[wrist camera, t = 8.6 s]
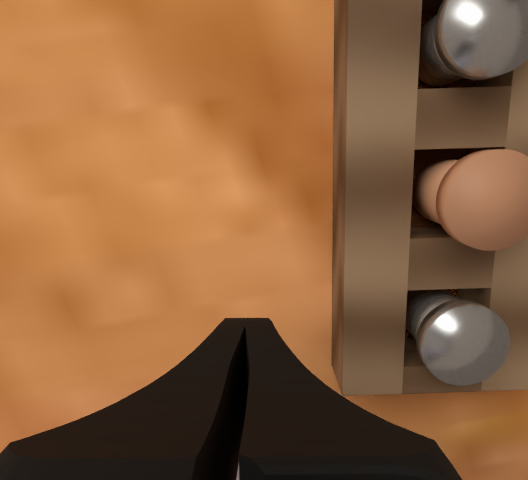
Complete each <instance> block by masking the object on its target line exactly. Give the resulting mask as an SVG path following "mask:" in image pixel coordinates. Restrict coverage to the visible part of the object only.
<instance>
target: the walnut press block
mask: <svg viewBox="0 0 528 480" xmlns="http://www.w3.org/2000/svg"><path fill="white" fill-rule="evenodd" d="M442 1H443V0H334V127H333V260H332V367H333V370H334V373H335V375H336V378H337V381H338V384H339V387H340V390H341V393H342V396H356V395H386V394H416V393H446V392H476V391H506V390H528V236H527V237H525V238H524V239H523V240H521V241H520V242H518V243H517V244H515V245H513V246H511V247H508V248H505V249H501V250H494V251H484V250H479V249H475V248H472V247H470V246H468V245H465V244H463V243H461V242H459V241H456V240H455V239H453V238H452V237H451V236H450V235H448V234H447V232H446V231H445V230H444V229H443V227H442V226H411V209H412V189H413V170H414V150H428V149H460V148H469V154H471V153H474V152H477V151H481V150H494V149H507V150H513V151H517V152H520V153H522V154H524V155H526V156H528V59H527V60H526V61H525V62H524V63H523V64H522V65H520V66H519V67H517V68H516V69H514V70H512V71H510V72H507V73H505V74H502V75H499V76H496V77H493V78H490V79H486V80H475V83H474V87H468V88H436V89H418V72H419V53H420V33H421V14H422V10H439V7H440V5H441V3H442ZM437 289H458V294H457V298H459V299H467V300H473V301H476V302H478V303H481V304H482V305H484V306H485V307H487V308H488V309H490V310H492V311H493V312H495V313H496V314H497V315H498V316H500V317H501V319H502V320H503V321H504V322H505V324H506V326H507V328H508V331H509V335H510V347H509V352H508V355H507V357H506V359H505V361H504V363H503V364H502V366H501V367H500V368H499V369H498V370H497V371H496V372H495V373H494V374H493V375H491V376H490V377H489V378H487V379H485V380H483V381H481V382H479V383H476V384H472V385H465V386H458V385H452V384H448V383H445V382H443V381H441V380H439V379H438V378H437V377H435V376H434V375H433V374H432V373H431V372H430V370H429V369H428V368H427V367H426V365H425V364H424V363H423V361H422V360H421V359H420V357H419V355H418V352H417V348H416V340H415V339H414V338H405V326H406V306H407V290H437Z"/></svg>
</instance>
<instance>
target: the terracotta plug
mask: <svg viewBox="0 0 528 480" xmlns="http://www.w3.org/2000/svg"><path fill="white" fill-rule="evenodd" d="M412 203H413V206H414V208H415V209H416V211H417V212H418V213H419V214H420V215H421V216H422V217H424V218H426V219H428V220H430V221H433V222H436V223H438V224H441V226H442V227H443V229H444V230H445V231H446V232H447V234H448V235H450V236H451V237H452V238H453V239H455V240H456V241H459V242H461V243H463V244H465V245H468V246H470V247H472V248H475V249H479V250H484V251H494V250H501V249H505V248H508V247H511V246H513V245H515V244H517V243H518V242H520V241H521V240H523V239H524V238H525V237H527V236H528V156H526V155H524V154H522V153H520V152H517V151H513V150H507V149H494V150H481V151H477V152H474V153H471V154H468V155H467V156H465V157H463V158H461V159H460V160H437V161H434V162H431V163H430V164H428V165H426V166H425V167H424V168H422V169H421V170H420V171H419V173H418V174H417V175H416V177H415V179H414V181H413V189H412Z"/></svg>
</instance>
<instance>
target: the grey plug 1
mask: <svg viewBox="0 0 528 480" xmlns="http://www.w3.org/2000/svg"><path fill="white" fill-rule="evenodd" d="M527 59H528V0H443V1H442V3H441V5H440V7H439V10H438V13H437V15H436V16H434V17H433V18H432V19H431V20H429V21H428V22H427V23H426V24H424V25H423V26H422V27H421V33H420V53H419V72H418V78H419V79H420V80H421V81H422V82H424V83H426V84H429V85H433V86H442V85H446V84H449V83H452V82H454V81H457V80H459V79H462V78H465V79H470V80H486V79H490V78H493V77H496V76H499V75H502V74H505V73H507V72H510V71H512V70H514V69H516V68H517V67H519V66H520V65H522V64H523V63H524V62H525V61H526V60H527Z"/></svg>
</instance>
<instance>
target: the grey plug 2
mask: <svg viewBox="0 0 528 480" xmlns="http://www.w3.org/2000/svg"><path fill="white" fill-rule="evenodd" d="M405 328H406V329H407V331H408V332H409V333H410V334H411V335H412V336H413V338H414V339H415V340H416V348H417V352H418V355H419V357H420V359H421V360H422V361H423V363H424V364H425V365H426V367H427V368H428V369H429V370H430V372H431V373H432V374H433V375H434V376H435V377H437V378H438V379H439V380H441V381H443V382H445V383H448V384H452V385H458V386H465V385H472V384H476V383H479V382H481V381H483V380H485V379H487V378H489V377H490V376H491V375H493V374H494V373H495V372H496V371H497V370H498V369H499V368H500V367H501V366H502V364H503V363H504V361H505V359H506V357H507V355H508V352H509V347H510V335H509V331H508V328H507V326H506V324H505V322H504V321H503V320H502V319H501V317H500V316H498V315H497V314H496V313H495V312H493V311H492V310H490V309H488V308H487V307H485V306H484V305H482V304H481V303H478V302H476V301H473V300H467V299H459V298H457V297H456V296H455V295H453V294H452V293H450V292H449V291H448V290H446V289H437V290H407V306H406V326H405Z"/></svg>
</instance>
